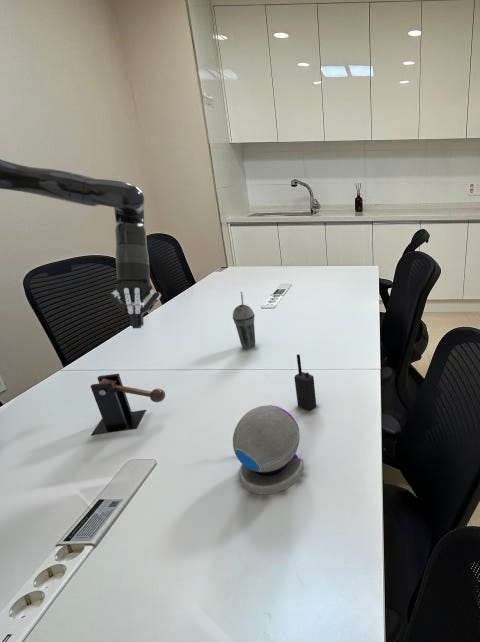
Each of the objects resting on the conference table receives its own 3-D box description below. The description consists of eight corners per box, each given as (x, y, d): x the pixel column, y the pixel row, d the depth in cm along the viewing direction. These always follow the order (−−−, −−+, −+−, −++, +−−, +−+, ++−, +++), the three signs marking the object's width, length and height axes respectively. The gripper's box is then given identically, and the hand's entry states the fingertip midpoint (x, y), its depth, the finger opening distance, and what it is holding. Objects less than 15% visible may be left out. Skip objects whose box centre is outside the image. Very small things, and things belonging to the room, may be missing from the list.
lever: (165, 398, 99) (168, 387, 98) (161, 406, 96) (164, 394, 95) (102, 387, 94) (104, 375, 93) (96, 394, 91) (98, 382, 90)
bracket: (147, 413, 102) (133, 369, 96) (138, 432, 94) (122, 385, 89) (105, 419, 100) (88, 374, 94) (92, 438, 92) (73, 391, 87)
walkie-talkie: (317, 405, 103) (312, 355, 97) (308, 412, 100) (303, 361, 94) (304, 400, 105) (298, 351, 99) (295, 406, 103) (289, 356, 97)
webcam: (315, 462, 83) (309, 404, 77) (273, 504, 73) (262, 441, 67) (270, 443, 89) (261, 387, 83) (226, 479, 79) (212, 419, 73)
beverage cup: (234, 350, 135) (223, 295, 127) (245, 341, 142) (235, 289, 133) (252, 352, 134) (243, 296, 125) (263, 343, 140) (254, 290, 132)
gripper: (164, 265, 108) (168, 327, 109) (111, 265, 105) (115, 329, 106) (155, 260, 100) (159, 327, 101) (98, 261, 98) (102, 329, 98)
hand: (137, 328), depth 103 cm, fingers closed
